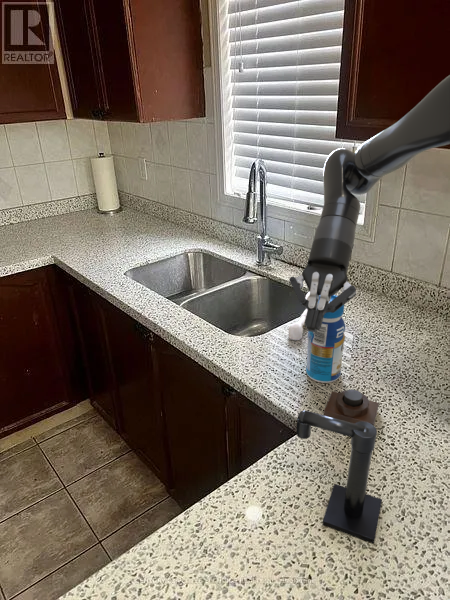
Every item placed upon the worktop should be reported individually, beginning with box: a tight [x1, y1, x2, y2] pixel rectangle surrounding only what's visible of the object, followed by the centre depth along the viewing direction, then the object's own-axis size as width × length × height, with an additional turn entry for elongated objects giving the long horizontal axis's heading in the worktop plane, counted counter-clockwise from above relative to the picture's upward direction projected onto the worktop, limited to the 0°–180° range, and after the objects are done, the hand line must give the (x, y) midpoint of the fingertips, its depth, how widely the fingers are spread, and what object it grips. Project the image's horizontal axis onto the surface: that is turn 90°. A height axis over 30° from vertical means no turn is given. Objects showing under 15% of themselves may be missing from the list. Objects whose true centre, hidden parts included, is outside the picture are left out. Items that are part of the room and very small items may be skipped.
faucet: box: [287, 291, 310, 341], centre depth 127 cm, size 4×18×10 cm, turn 153°
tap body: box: [322, 446, 383, 545], centre depth 70 cm, size 8×8×15 cm
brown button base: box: [323, 389, 380, 427], centre depth 94 cm, size 10×7×4 cm
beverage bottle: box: [305, 294, 346, 384], centre depth 103 cm, size 8×8×20 cm
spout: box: [295, 410, 378, 453], centre depth 68 cm, size 12×3×4 cm, turn 65°
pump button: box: [344, 388, 363, 407], centre depth 93 cm, size 4×4×2 cm
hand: (311, 330), depth 81 cm, fingers closed
